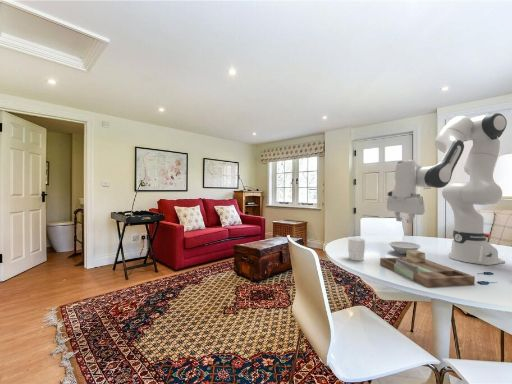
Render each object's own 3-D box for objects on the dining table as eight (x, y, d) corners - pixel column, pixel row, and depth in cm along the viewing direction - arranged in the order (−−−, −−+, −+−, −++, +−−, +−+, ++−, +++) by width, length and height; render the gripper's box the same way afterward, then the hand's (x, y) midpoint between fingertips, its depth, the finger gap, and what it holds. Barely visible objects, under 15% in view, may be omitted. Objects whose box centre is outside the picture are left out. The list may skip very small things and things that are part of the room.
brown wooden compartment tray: (418, 263, 118) (418, 251, 118) (474, 284, 92) (474, 269, 92) (380, 264, 114) (380, 252, 114) (427, 287, 89) (427, 272, 89)
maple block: (416, 258, 115) (416, 249, 114) (424, 261, 110) (425, 252, 110) (406, 258, 114) (406, 250, 114) (415, 262, 109) (415, 253, 109)
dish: (396, 248, 146) (397, 240, 145) (425, 254, 134) (425, 244, 134) (383, 253, 135) (383, 244, 134) (412, 259, 123) (412, 249, 123)
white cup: (367, 258, 124) (367, 239, 123) (361, 262, 118) (361, 241, 118) (351, 255, 129) (351, 236, 129) (345, 258, 123) (345, 238, 123)
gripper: (429, 194, 109) (428, 225, 109) (395, 192, 129) (395, 219, 129) (416, 194, 108) (415, 225, 108) (384, 192, 128) (384, 219, 128)
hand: (404, 222), depth 119 cm, fingers open, 5 cm apart
